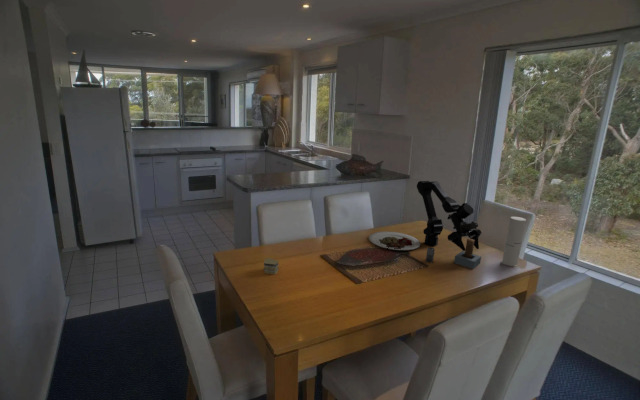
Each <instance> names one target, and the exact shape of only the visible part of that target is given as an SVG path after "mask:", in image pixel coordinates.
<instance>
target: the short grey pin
mask: <svg viewBox="0 0 640 400" xmlns="http://www.w3.org/2000/svg"><path fill="white" fill-rule="evenodd" d="M426 249H427V250H426V257H425V261H426V262H427V263H433V262H434V256H435V248H433V247H432V246H430V247H429V246H428V247H427V248H426Z"/></svg>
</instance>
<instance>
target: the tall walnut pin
mask: <svg viewBox="0 0 640 400" xmlns="http://www.w3.org/2000/svg"><path fill="white" fill-rule="evenodd" d="M474 241H475V240H473V239H470V238H467V239H466V243H465V245H466V246H465V251H464V252H465V256H464V257H466V258H469V259H472V254H474V253H473V252H474V247H475V246H474Z"/></svg>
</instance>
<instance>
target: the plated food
mask: <svg viewBox="0 0 640 400" xmlns="http://www.w3.org/2000/svg"><path fill="white" fill-rule="evenodd" d="M368 240H369V241H370V242H371V243H372V244H373V245H375V246H378V247H381V248H384V249H387V248H388V247H389V248H388V250H394V251H412V250H416V249H418V248H420V246H421V241H420V240H419V239H417V238H416V237H414V236H412V235H410V234H406V233H403V232H398V231H377V232H373V233H371V234H370V235H369V236H368ZM393 247H398V248H401V249H394V248H393Z"/></svg>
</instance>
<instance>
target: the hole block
mask: <svg viewBox="0 0 640 400" xmlns="http://www.w3.org/2000/svg"><path fill="white" fill-rule="evenodd" d="M464 256H465V251H463V250H462V251H460V252H459V253H456V254H455V256H454V260H453V263H454V264H456V265H460V266H462V267H465V268H469V269H472V270H473V269H474V270H475V268H476V267H478V266H479V265H480V264H481V260H482V256H480V255H478V254H474V253H472V259H469V258H466V257H464Z"/></svg>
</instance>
